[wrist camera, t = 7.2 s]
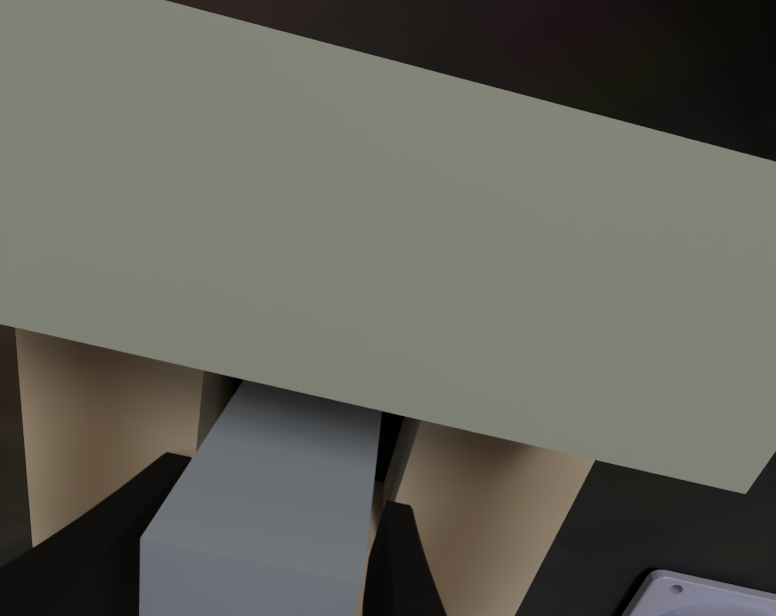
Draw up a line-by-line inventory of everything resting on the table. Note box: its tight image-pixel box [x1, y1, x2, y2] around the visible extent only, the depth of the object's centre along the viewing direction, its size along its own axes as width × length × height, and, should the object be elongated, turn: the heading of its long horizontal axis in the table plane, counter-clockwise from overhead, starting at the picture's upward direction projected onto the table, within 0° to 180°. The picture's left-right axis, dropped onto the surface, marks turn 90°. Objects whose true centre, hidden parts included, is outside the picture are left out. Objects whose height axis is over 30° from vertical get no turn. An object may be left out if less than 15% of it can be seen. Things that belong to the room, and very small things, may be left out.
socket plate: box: [15, 327, 595, 616], centre depth 15 cm, size 16×14×3 cm
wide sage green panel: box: [0, 0, 776, 494], centre depth 10 cm, size 14×4×8 cm, turn 77°
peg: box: [139, 380, 382, 616], centre depth 13 cm, size 4×4×8 cm
